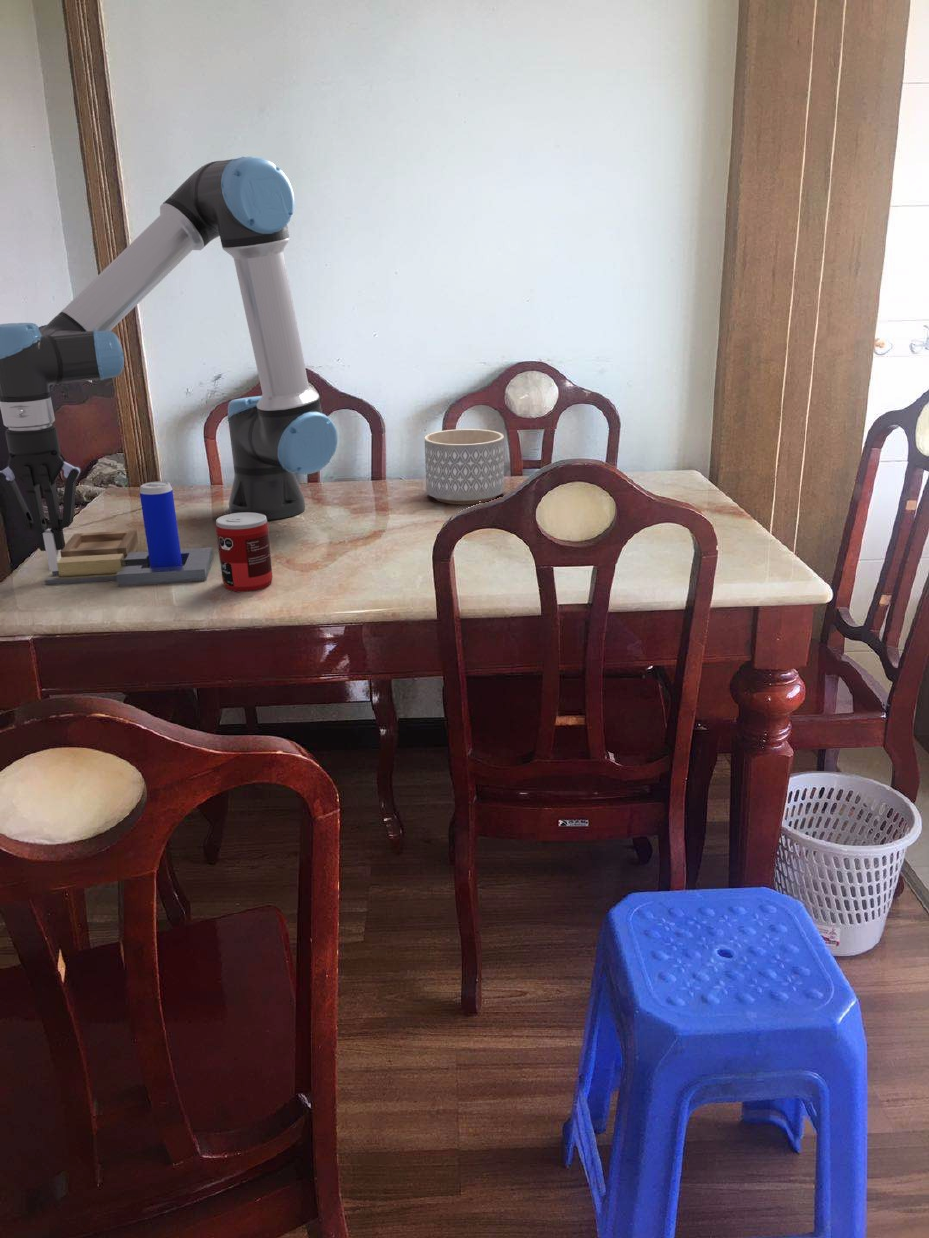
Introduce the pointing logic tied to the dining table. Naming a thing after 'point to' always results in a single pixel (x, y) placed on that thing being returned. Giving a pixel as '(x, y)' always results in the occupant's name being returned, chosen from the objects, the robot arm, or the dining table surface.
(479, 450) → the planter
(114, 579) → the socket plate
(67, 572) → the bar
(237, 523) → the canned food
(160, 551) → the beverage can
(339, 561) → the dining table surface
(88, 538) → the tray
